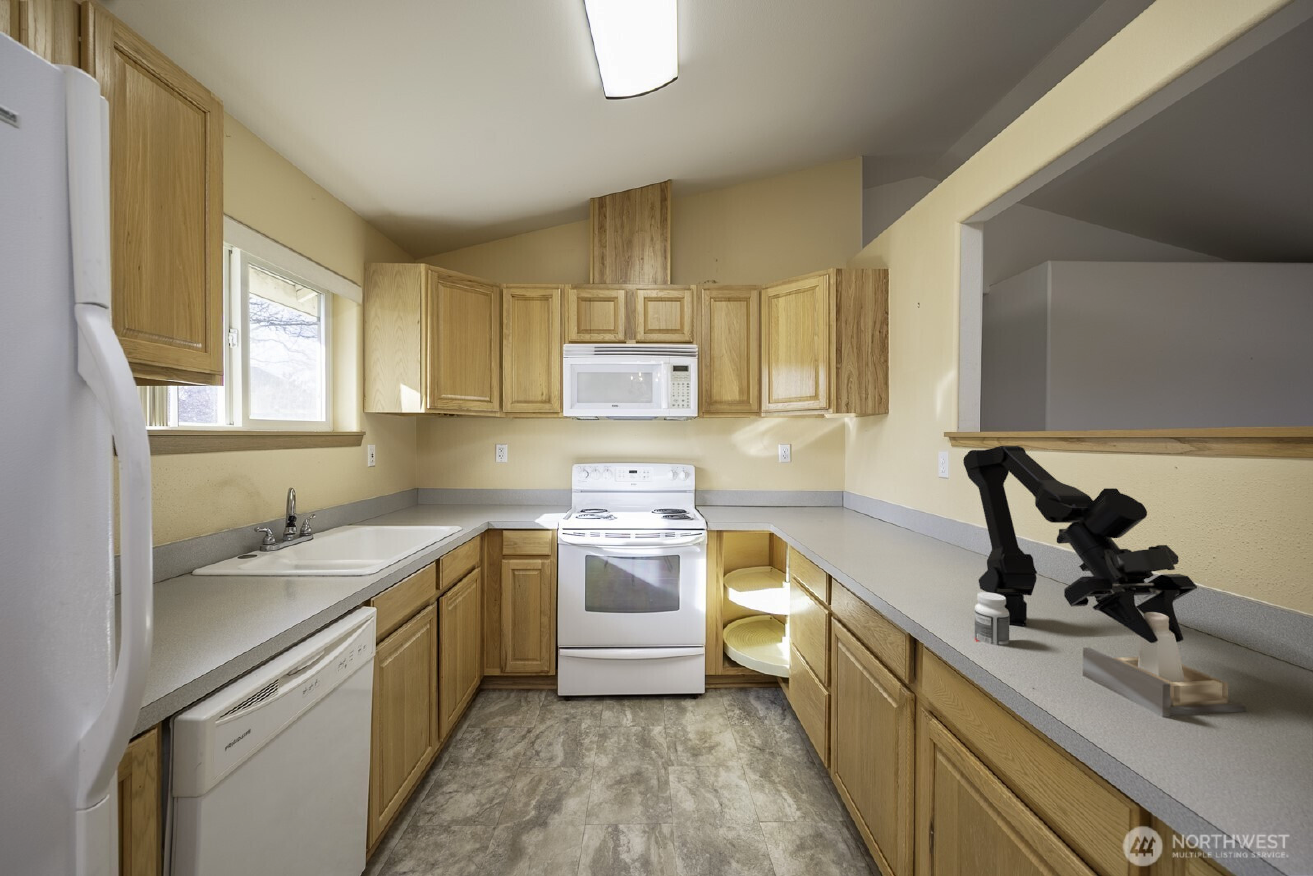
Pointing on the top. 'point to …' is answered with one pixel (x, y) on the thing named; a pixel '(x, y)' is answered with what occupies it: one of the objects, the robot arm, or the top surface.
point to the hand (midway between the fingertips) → (1167, 641)
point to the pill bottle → (991, 619)
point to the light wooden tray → (1190, 686)
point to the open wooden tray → (1141, 686)
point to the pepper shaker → (1160, 650)
